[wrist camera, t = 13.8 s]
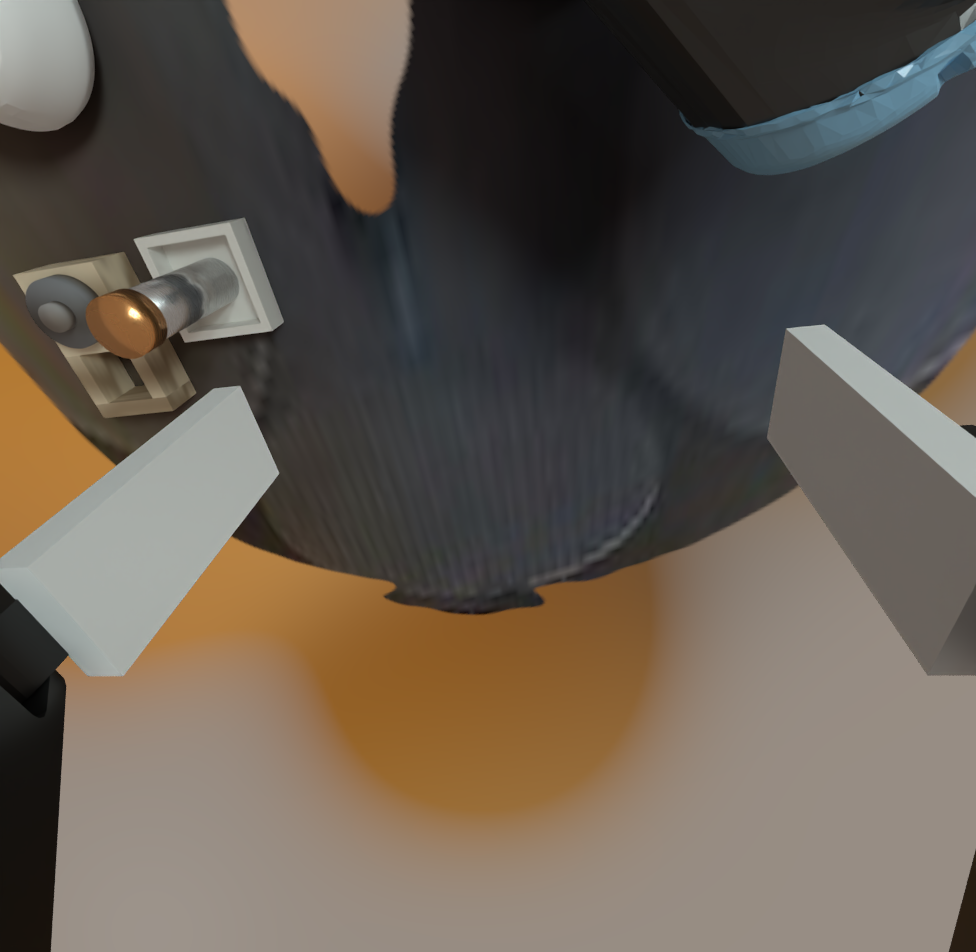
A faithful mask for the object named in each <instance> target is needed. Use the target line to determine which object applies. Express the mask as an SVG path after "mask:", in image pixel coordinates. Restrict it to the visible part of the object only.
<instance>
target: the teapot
mask: <svg viewBox="0 0 976 952" xmlns="http://www.w3.org/2000/svg"><path fill="white" fill-rule="evenodd" d="M94 75H95V62H94V52H93V46H92V41H91V37H90V33H89V30H88V27H87V24H86V21H85V18H84V16H83V13H82V11H81V8H80V6H79V3H78V1H77V0H0V123H1V124H4V125H7V126H11V127H14V128H18V129H23V130H28V131H38V132H41V131H52V130H58V129H60V128H62V127H63V126H65V125H67V124H69V123H71V122H73V121H74V120H75V119H76V118H77V116H78V115H79V114H80V113H81V112H82V110H83V109H84V108H85V106H86V104H87V102H88V100H89V98H90V95H91V92H92V88H93V84H94Z"/></svg>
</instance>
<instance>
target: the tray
mask: <svg viewBox="0 0 976 952" xmlns="http://www.w3.org/2000/svg"><path fill="white" fill-rule="evenodd" d="M134 241H135V243H136V245H137V247H138V249H139V251H140V253H141V256H142V258H143V260H144V262H145V264H146V266H147V268H148V270H149V272H150V274H151V276H152V278H153V279H154V278H156V277H159V276H162V275H164V274H167V273H169V272H172V271H174V270H177V269H179V268H182V267H184V266H187V265H189V264H192V263H194V262H197V261H199V260H202V259H204V258H216V259H219V260H221V261H223V262H225V263H226V264H227V265H228V266H229V267H230V268H231V269H232V270H233V271H234V273H235V274H236V276H237V279H238V282H239V293H238V296H237V298H236V299H235V300H234V301H232V302H231V303H229V304H227V305H225V306H224V307H222V308H220V309H218V310H216V311H215V312H213V313H211V314H209V315H208V316H206V317H204V318H202V319H201V320H199V321H197V322H195V323H194V324H192V325H190V326H188V327H187V328H185V329H183V330H181V331H179V332H180V334H181V336H182V338H183V340H184V342H185V343H186V342H193V341H201V340H208V339H216V338H223V337H231V336H238V335H246V334H253V333H261V332H269V331H273V330H274V329H276V328H277V327H278V326H280V325H281V324H282V323H284V320H283V318H282V315H281V312H280V310H279V307H278V304H277V302H276V299H275V296H274V294H273V291H272V288H271V286H270V283H269V281H268V278H267V275H266V273H265V270H264V267H263V265H262V262H261V259H260V257H259V254H258V251H257V249H256V246H255V244H254V241H253V238H252V236H251V233H250V230H249V228H248V225H247V222H246V220H245V218H240V219H234V220H228V221H223V222H217V223H211V224H205V225H200V226H194V227H188V228H183V229H177V230H171V231H166V232H160V233H154V234H150V235H146V236H143V237H139V238H136V239H134Z"/></svg>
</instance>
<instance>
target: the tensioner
mask: <svg viewBox="0 0 976 952" xmlns="http://www.w3.org/2000/svg"><path fill="white" fill-rule="evenodd" d="M13 276H14V278H15V279H16V281H17V282H18V284H19V285H20V287H21V289H22V290H23V292H24V293H25V295H26V304H27V308H28V311H29V313H30V315H31V317H32V318H33V320H34V321H35V323H36V324H37V325H38V327H39V328H40V329H41V330H42V331H43V332H44V333H45V334H46V335H48V336H49V337H50V338H52V339H53V340H55V342H56V343H57V345H58V346H59V348H60V350H61V351H62V353H63V354H64V356H65V357H66V359H67V361H68V362H69V364H70V365H71V367H72V368H73V370H74V372H75V373H76V375H77V376H78V378H79V379H80V381H81V382H82V384H83V386H84V387H85V389H86V390H87V392H88V393H89V395H90V397H91V398H92V400H93V401H94V403H95V404H96V406H97V408H98V409H99V411H100V412H101V414H102V415H103V417H104V418H111V417H120V416H130V415H139V414H148V413H158V412H167V411H174V410H175V409H177V408H178V407H179V406H181V405H182V404H183V403H184V402H186V401H187V400H188V399H190V398H191V397H192V396H194V395H195V394H196V391H195V389H194V387H193V385H192V383H191V381H190V379H189V377H188V375H187V374H186V372H185V370H184V368H183V366H182V364H181V362H180V360H179V358H178V356H177V354H176V352H175V350H174V348H173V346H172V344H171V342H170V340H169V338H167V339H166V340H165V342H164V343H163V344H162V345H161V346H159V347H157V348H156V349H154V350H152V351H151V352H149V353H147V354H145V355H144V356H142V357H140V358H136V359H131V361H132V363H133V365H134V366H135V368H136V370H137V372H138V374H139V375H140V377H141V379H142V381H143V382H144V384H145V385H143V386H135V385H134V383H133V381H132V380H131V378H130V376H129V375H128V373H127V371H126V369H125V368H124V366H123V364H122V362H121V361H120V359H119V357H118V356H117V355H115V354H113V353H111V352H110V351H108V350H107V349H105V348H104V347H103V346H102V345H101V344H100V343H99V342H98V341H97V340H96V339H95V337H94V336H93V335H92V333H91V331H90V329H89V327H88V325H87V321H86V308H87V305H88V304H89V302H90V301H91V300H93V299H95V298H97V297H99V296H102V295H104V294H107V293H110V292H112V291H115V290H117V289H124V288H125V289H129V288H131V287H134V286H136V285H139V284H140V282H139V280H138V278H137V276H136V274H135V272H134V270H133V268H132V266H131V264H130V262H129V260H128V258H127V256H126V254H125V252H120V253H114V254H108V255H102V256H96V257H91V258H85V259H79V260H73V261H67V262H61V263H55V264H50V265H46V266H43V267H39V268H36V269H32V270H29V271H25V272H22V273H18V274H15V275H13Z"/></svg>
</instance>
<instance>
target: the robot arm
mask: <svg viewBox="0 0 976 952" xmlns="http://www.w3.org/2000/svg"><path fill="white" fill-rule="evenodd" d="M584 1H585V2H586V3H587V4H588V6H589V7H590V8H591V9H592V10H593V11H594V13H595V14H596V15H597V16H598V17H599V18H600V19H601V21H602V22H603V23H604V24H605V25H606V26H607V27H608V29H609V30H610V31H611V32H612V33H613V34H614V36H615V37H616V38H617V39H618V40H619V41H620V42H621V44H622V45H623V46H624V47H625V48H626V49H627V51H628V52H629V53H630V54H631V55H632V56H633V57H634V59H635V60H636V61H637V62H638V63H639V64H640V66H641V67H642V68H643V69H644V70H645V71H646V72H647V74H648V75H649V76H650V77H651V78H652V79H653V81H654V82H655V83H656V84H657V85H658V86H659V87H660V89H661V90H662V91H663V92H664V93H665V94H666V95H667V97H668V98H669V99H670V100H671V101H672V102H673V104H674V105H675V106H676V107H677V108H678V109H679V114H680V116H681V119H682V121H683V122H684V123H685V125H686V126H687V127H688V128H689V129H692V130H693V131H694V132H695V133H696V134H698V135H700V136H703V137H705V138H706V139H707V140H708V141H709V142H710V143H711V144H712V145H713V146H714V147H715V148H716V149H717V150H718V151H719V152H720V153H721V154H722V155H723V156H724V157H725V158H726V159H727V160H728V161H729V162H730V163H731V164H732V165H733V166H735V167H737V168H739V169H741V170H743V171H745V172H747V173H752V174H756V175H777V174H784V173H789V172H794V171H798V170H801V169H805V168H808V167H811V166H813V165H816V164H819V163H821V162H824V161H826V160H829V159H831V158H833V157H836V156H838V155H840V154H842V153H844V152H847V151H849V150H851V149H853V148H855V147H857V146H859V145H860V144H862V143H864V142H866V141H868V140H870V139H872V138H874V137H876V136H877V135H879V134H881V133H883V132H884V131H886V130H888V129H889V128H891V127H893V126H894V125H896V124H898V123H899V122H901V121H902V120H904V119H905V118H907V117H908V116H910V115H912V114H913V113H915V112H916V111H917V110H919V109H920V108H922V107H923V106H925V105H926V104H928V103H929V102H930V101H932V100H933V99H934V98H936V97H937V96H938V93H939V90H940V87H941V86H942V85H943V84H944V82H946V81H947V80H949V79H951V78H953V77H955V76H957V75H959V74H962V73H964V72H967V71H969V70H971V69H974V68H975V67H976V0H584ZM767 439H768V440H769V442H770V443H771V445H772V446H773V448H774V449H775V451H776V452H777V454H778V455H779V456H780V458H781V459H782V461H783V462H784V464H785V465H786V467H787V468H788V470H789V471H790V473H791V474H792V476H793V477H794V479H795V480H796V482H797V483H798V485H799V486H800V487H801V489H802V490H803V492H804V493H805V495H806V496H807V498H808V499H809V501H810V502H811V504H812V505H813V507H814V508H815V510H816V511H817V513H818V514H819V516H820V517H821V519H822V520H823V521H824V523H825V524H826V526H827V527H828V529H829V530H830V532H831V533H832V535H833V536H834V538H835V539H836V541H837V542H838V544H839V545H840V547H841V548H842V549H843V551H844V552H845V554H846V555H847V557H848V558H849V560H850V561H851V563H852V564H853V566H854V567H855V569H856V570H857V572H858V573H859V575H860V576H861V578H862V579H863V581H864V582H865V583H866V585H867V586H868V588H869V589H870V591H871V592H872V594H873V595H874V597H875V598H876V600H877V601H878V603H879V604H880V606H881V607H882V609H883V610H884V612H885V613H886V614H887V616H888V617H889V619H890V620H891V622H892V623H893V625H894V626H895V628H896V629H897V631H898V632H899V633H900V635H901V636H902V638H903V640H904V641H905V643H906V644H907V646H908V647H909V649H910V650H911V651H912V653H913V654H914V656H915V657H916V659H917V660H918V662H919V663H920V665H921V666H922V668H923V669H924V671H925V672H926V673H927V675H976V426H974V425H963V426H959V425H958V424H956V423H955V422H954V421H952V420H951V419H950V418H948V417H947V416H946V415H944V414H943V413H942V412H940V411H939V410H938V409H936V408H935V407H934V406H932V405H931V404H929V403H928V402H927V401H926V400H924V399H923V398H922V397H920V396H919V395H918V394H916V393H915V392H914V391H912V390H911V389H910V388H908V387H907V386H906V385H904V384H903V383H902V382H900V381H899V380H898V379H896V378H895V377H894V376H892V375H891V374H890V373H888V372H887V371H886V370H884V369H883V368H882V367H880V366H879V365H878V364H876V363H875V362H874V361H872V360H871V359H870V358H868V357H867V356H866V355H864V354H863V353H862V352H860V351H859V350H858V349H856V348H855V347H854V346H852V345H851V344H850V343H848V342H847V341H846V340H844V339H843V338H842V337H840V336H839V335H838V334H836V333H835V332H834V331H832V330H831V329H830V328H828V327H827V326H826V325H816V326H807V327H797V328H787V329H786V332H785V338H784V343H783V349H782V355H781V361H780V366H779V372H778V378H777V384H776V389H775V395H774V401H773V407H772V413H771V418H770V424H769V430H768V436H767ZM278 475H279V471H278V469H277V467H276V465H275V462H274V460H273V458H272V456H271V454H270V451H269V449H268V447H267V445H266V442H265V440H264V438H263V436H262V433H261V431H260V429H259V427H258V425H257V422H256V420H255V418H254V416H253V413H252V411H251V409H250V407H249V404H248V402H247V400H246V398H245V396H244V393H243V391H242V389H241V387H240V386H234V387H224V388H214V389H213V390H211V391H210V392H209V393H208V394H206V395H205V396H204V397H202V398H201V399H200V400H199V401H197V402H196V403H195V404H194V405H192V406H191V407H190V408H189V409H187V410H186V411H185V412H184V413H182V414H181V415H180V416H179V417H177V418H176V419H175V420H174V421H172V422H171V423H170V424H169V425H167V426H166V427H165V428H164V429H162V430H161V431H160V432H158V433H157V434H156V435H155V436H153V437H152V438H151V439H150V440H148V441H147V442H146V443H145V444H143V445H142V446H141V447H140V448H138V449H137V450H136V451H135V452H133V453H132V454H131V455H130V456H128V457H127V458H126V459H125V460H123V461H122V462H121V463H119V464H118V465H117V466H116V467H114V468H113V469H112V470H111V471H109V472H108V473H107V474H106V475H104V476H103V477H102V478H101V479H99V480H98V481H97V482H96V483H94V484H93V485H92V486H91V487H89V488H88V489H87V490H86V491H84V492H83V493H82V494H81V495H79V496H78V497H77V498H75V499H74V500H73V501H72V502H70V503H69V504H68V505H67V506H65V507H64V508H63V509H62V510H61V511H59V512H58V513H57V514H55V515H54V516H53V517H52V518H51V519H49V520H48V521H47V522H45V523H44V524H43V525H42V526H40V527H39V528H38V529H37V530H35V531H34V532H33V533H32V534H30V535H29V536H28V537H27V538H25V539H24V540H23V541H21V542H20V543H19V544H18V545H16V547H14V548H13V549H11V550H10V551H9V552H8V553H6V554H5V555H4V556H3V557H1V558H0V952H51V937H52V920H53V919H52V918H53V903H54V885H55V868H56V851H57V834H58V817H59V800H60V783H61V766H62V749H63V732H64V715H65V697H66V684H65V680H64V678H63V677H62V676H61V675H60V674H59V673H58V672H57V671H56V670H55V669H56V668H57V667H58V666H59V665H60V664H61V663H62V662H63V661H64V659H65V658H66V657H67V656H69V657H70V658H71V659H72V660H73V661H74V662H75V663H76V664H77V665H78V666H79V667H80V669H82V671H83V672H84V673H85V674H86V675H87V676H124V675H125V673H126V672H127V670H128V669H129V668H130V667H131V665H132V664H133V663H134V662H135V660H136V659H137V658H138V656H139V655H140V654H141V652H142V651H143V650H144V648H145V647H146V646H147V645H148V643H149V642H150V640H152V638H153V637H154V636H155V634H156V633H157V631H158V630H159V629H160V628H161V626H162V625H163V624H164V623H165V621H166V620H167V619H168V617H169V616H170V615H171V614H172V612H173V611H174V610H175V608H176V607H177V606H178V604H179V603H180V602H181V601H182V599H183V598H184V597H185V595H186V594H187V593H188V591H189V590H190V589H191V588H192V586H193V585H194V584H195V582H196V581H197V580H198V578H199V577H200V576H201V575H202V573H203V572H204V571H205V569H206V568H207V567H208V565H209V564H210V563H211V562H212V560H213V559H214V558H215V556H216V555H217V554H218V553H219V551H220V550H221V549H222V547H223V546H224V545H225V543H226V542H227V541H228V540H229V538H230V537H231V536H232V534H233V533H234V532H235V530H236V529H237V528H238V527H239V525H240V524H241V523H242V521H243V520H244V519H245V517H246V516H247V515H248V514H249V512H250V511H251V510H252V508H253V507H254V506H255V504H256V503H257V502H258V501H259V499H260V498H261V497H262V495H263V494H264V493H265V491H266V490H267V489H268V488H269V486H270V485H271V484H272V482H273V481H274V480H275V478H276V477H277V476H278ZM949 952H976V851H975V855H974V858H973V862H972V866H971V870H970V874H969V878H968V881H967V885H966V889H965V893H964V896H963V900H962V904H961V908H960V911H959V915H958V919H957V923H956V927H955V930H954V934H953V938H952V942H951V946H950V949H949Z"/></svg>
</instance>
